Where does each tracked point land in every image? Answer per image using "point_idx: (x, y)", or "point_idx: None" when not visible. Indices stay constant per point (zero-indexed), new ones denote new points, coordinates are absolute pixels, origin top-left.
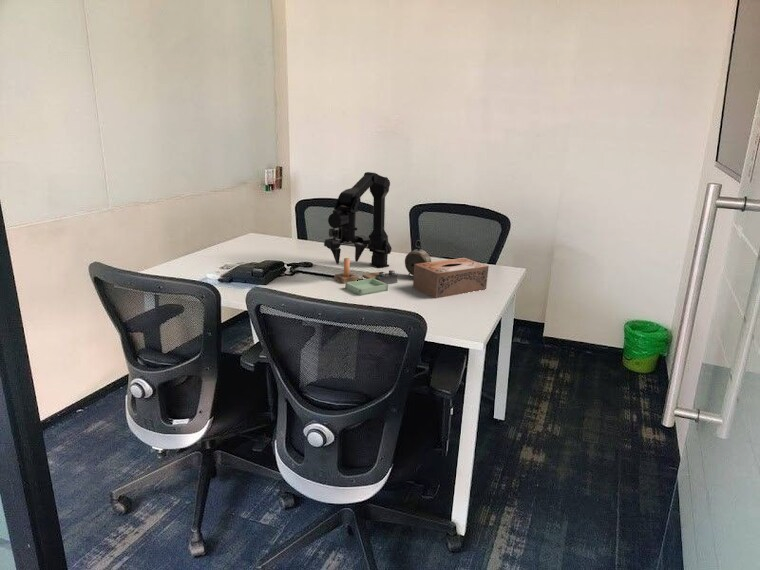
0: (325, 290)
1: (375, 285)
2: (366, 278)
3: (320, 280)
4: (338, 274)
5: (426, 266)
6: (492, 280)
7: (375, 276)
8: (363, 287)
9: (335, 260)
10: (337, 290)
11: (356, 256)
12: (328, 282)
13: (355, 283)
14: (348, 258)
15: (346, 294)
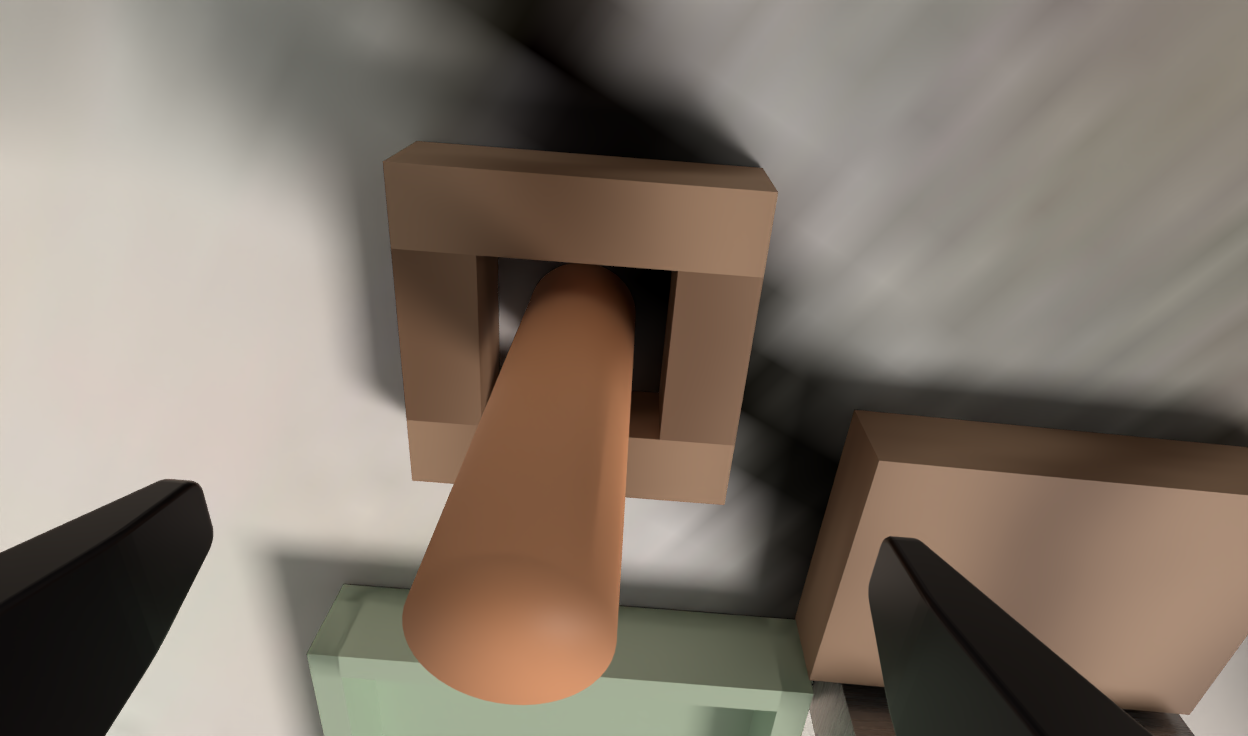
0: (50, 515)
1: (729, 724)
2: (837, 536)
3: (118, 46)
4: (469, 208)
5: None
6: None
7: (854, 734)
8: (544, 705)
9: (55, 549)
10: (211, 584)
11: (930, 710)
12: (228, 243)
13: None
14: (590, 627)
15: (256, 713)
